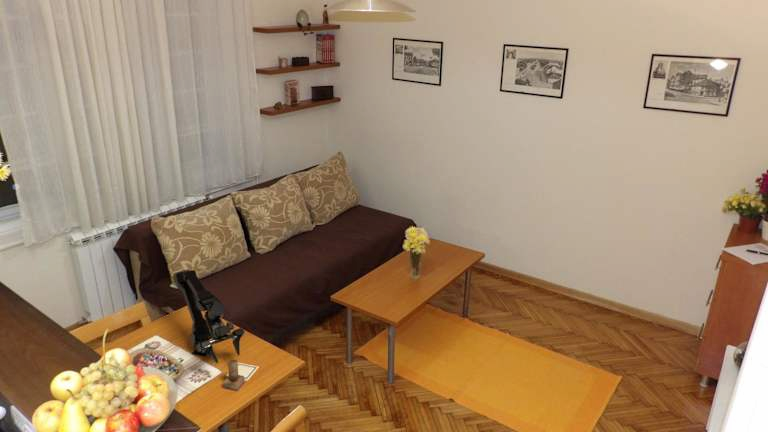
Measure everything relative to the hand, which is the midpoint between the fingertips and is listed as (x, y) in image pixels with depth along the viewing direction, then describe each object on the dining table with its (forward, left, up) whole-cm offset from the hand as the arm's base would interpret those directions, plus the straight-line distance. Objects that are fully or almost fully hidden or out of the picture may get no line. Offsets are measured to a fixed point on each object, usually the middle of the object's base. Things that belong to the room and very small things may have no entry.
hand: (228, 359), depth 227 cm
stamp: (+3, -2, -10) cm, 11 cm away
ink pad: (+3, -2, -11) cm, 12 cm away
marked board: (+2, +7, -11) cm, 13 cm away
